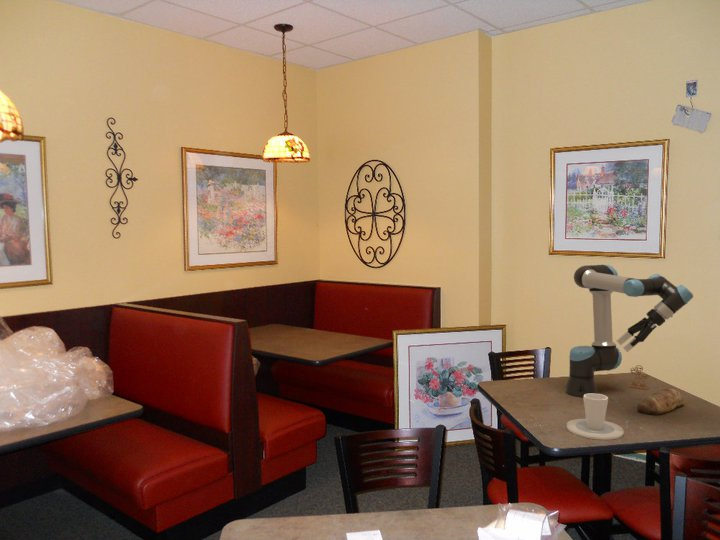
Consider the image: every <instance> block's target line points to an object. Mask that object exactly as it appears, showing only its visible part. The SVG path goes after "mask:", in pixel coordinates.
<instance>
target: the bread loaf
mask: <svg viewBox="0 0 720 540" xmlns="http://www.w3.org/2000/svg"><path fill="white" fill-rule="evenodd" d="M684 402H685V401H684V396H683V395H682V394H681V393H680V392H679V391H678V390H675V389H673V388H665V389H661V390H660V391H657V392H655V393H653V394H651V395H649V396H648V395H647V396H646V397H645V398H644V399H642V400H641V401H640V402H639V403H638V405H637V411H638V413H640V414H644V415H648V416H649V415H650V416H659V415H662V414H665V413H670V412H672V411H673V410H675V409H676V408H679V407H682V406H683V404H684Z"/></svg>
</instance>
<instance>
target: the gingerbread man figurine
mask: <svg viewBox="0 0 720 540" xmlns="http://www.w3.org/2000/svg"><path fill="white" fill-rule="evenodd" d="M643 370H644V368H643V366H642V365H641V364H640V365H636V366H635V367H631V368H630V372H631V374H633V375H634V376H637V375H638V376H637V377H636V378H635V379H634V380H633V381H632V383H630V384H629V385H628V388H630V389H631V388H632V389H637V390H643V391H648V389H649V388H650V387H649V386H646V384H645V381H644V380H648V375H647V373H645V372H643ZM634 372H635V373H634ZM641 374H642V375H641ZM643 374H644V375H645V376H644V375H643ZM640 375H641V376H640ZM636 380H638V381H637V382H636V383H635V381H636ZM640 380H641V381H640ZM641 382H642V383H641ZM638 383H639V384H638Z"/></svg>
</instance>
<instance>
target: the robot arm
mask: <svg viewBox="0 0 720 540" xmlns="http://www.w3.org/2000/svg"><path fill="white" fill-rule="evenodd" d="M573 281H574V283H575V284H576V285H577V286H578V287H579V288H582V289H588V290H589V291H588V292H589V293H590V294H591V295H592V311H593V313H592V314H593V334H594V336H593V337H594V338H593V339H594V341H593V342H591V346H590V345H577V346H574V347H572V348H571V349H570V351H569V378H568V380H567V383H566V386H565V393H566V394H568V395H570V396H574V397H578V398H583V396H584V394H589V393H594V394H598V388H597V385H596V382H595V381H596V380H595V372H602V371H603V372H604V371H607V372H608V371H613V370H616V369H618V367H620V365H621V363H622V359H623V356H622V352H621V351H620V349H619V348H618V347H617V343H618V345H619V346H622V345H623V344H624V343H625V344H624V345H623V346H622V349H624V351H625V352H627V353H629V352H630V351H631V350H632V349H633V348H635V347H636V346H637V345H638V344H639V343H644V341H645V340H646V339H647V338H648V337H649V335H650V334H651V333H652V332H653V331H654V330H655V329H656V328H658V327H661V326H662V325H663V324H664V323H666V320H669V319H670V318H673V316H674V315H675V314H676V313H678V311H680V310H681V309H682V308H683V307H684V306H686V305H687V304H688V303H689V302H690V301H691V300H692V299H694V293H692V292H691V291H690V289H688V288H687V287H686V286H684V285H683V284H679V285H678V286H676V285H675V284H673V283H672V282H670V281H669V280H668V279H667V278H666V277H665V276H662V275H661V274H659V273H654V274H651V275H649V277H648V278H634V277H627V276H621V275H619V274H618V272H617V269H615V268H614V267H613V266H612V265H610V264H594V265H592V264H591V265H582V266H579V267H578V268H577V269H576V270H575V271H574V274H573ZM614 292H615V293H620V294H625V295H626V296H628V297H634V298H637V297H638V298H639V297H647V296H649V297H650V296H651V297H652V296H659V297H660V298H661V299H662V300H661V301H659V302H658V303H657V304H656V305H654V306H653V308H651V309H650V310H648V312H646V316H647V317H643V318H642V319H640V320H639V321H637V322H636V323H634V324H633V325H631V326H629V327H628V328H627V331H625V332H624V334H622V335H621V336H620V337H619V338H618V339H616V342H617V343H615V342H614V341H613V322H612V320H613V319H612V296H611V295H612V293H614ZM636 333H638V334H637V335H634V334H636ZM632 337H633V338H632ZM628 340H629V341H628ZM627 341H628V342H627ZM626 342H627V343H626Z"/></svg>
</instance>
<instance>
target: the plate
mask: <svg viewBox="0 0 720 540" xmlns="http://www.w3.org/2000/svg"><path fill="white" fill-rule="evenodd" d="M566 429H567V430H568V432H569V433H571V434H573V435H575V436H578V437H582V438H584V439H591V440H597V441H610V440H617V439H620V438H622V437H623V436H624V432H625V431H624V428H622V426H621V425H619V424H616V423H615V422H612V421H611V422H610V421H607V420H605V421H604V427H603V429H601V430H594V429H590V428H588V427H587V423H586V417H585V418H574V419H571V420H569V421H568V422H566Z"/></svg>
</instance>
